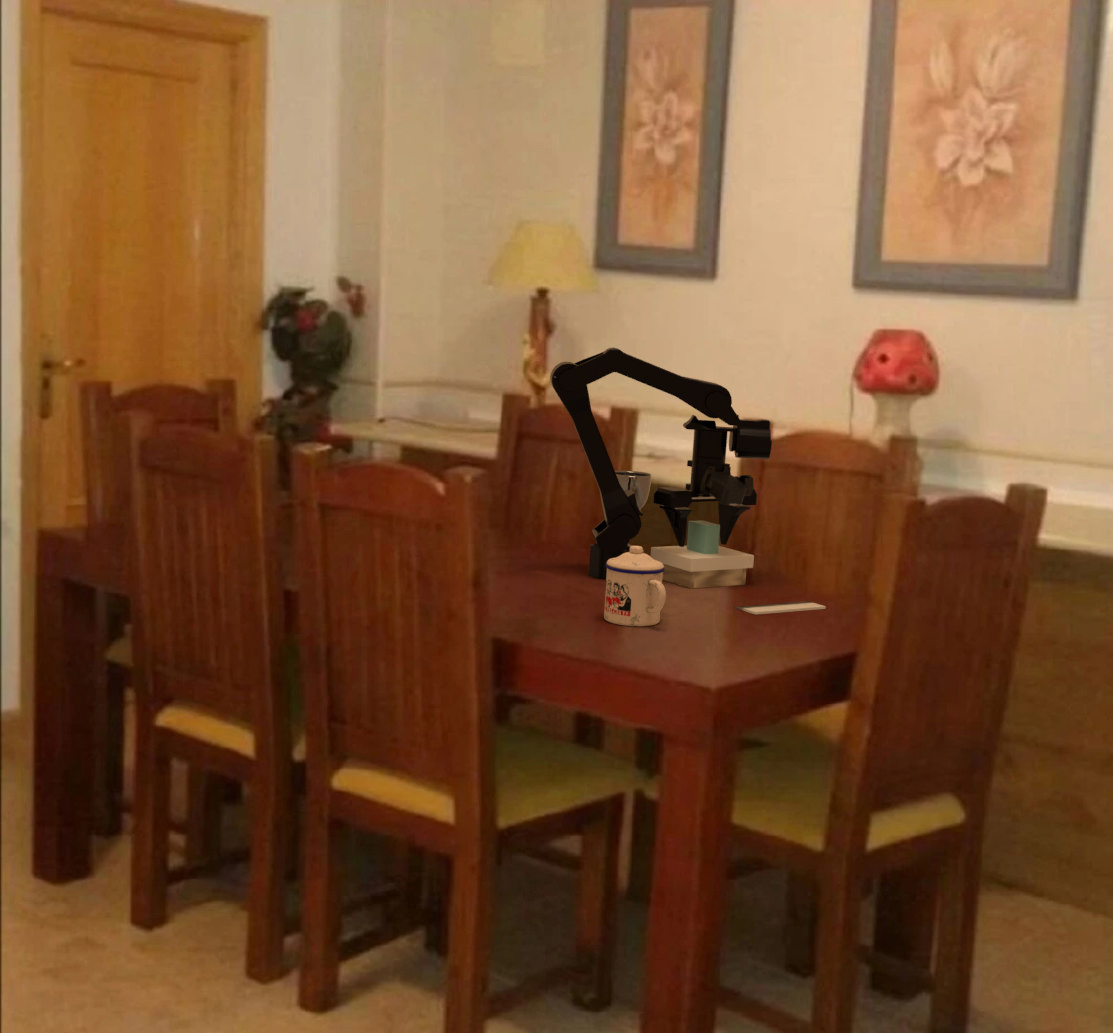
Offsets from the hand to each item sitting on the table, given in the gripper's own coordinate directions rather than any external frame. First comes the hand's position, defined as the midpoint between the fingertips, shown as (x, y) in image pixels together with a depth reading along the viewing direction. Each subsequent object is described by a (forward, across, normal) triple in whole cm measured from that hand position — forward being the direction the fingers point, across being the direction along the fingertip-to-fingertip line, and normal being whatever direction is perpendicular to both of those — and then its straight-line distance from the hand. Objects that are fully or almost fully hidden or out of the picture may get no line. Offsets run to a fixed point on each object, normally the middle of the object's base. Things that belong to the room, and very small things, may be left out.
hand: (702, 545), depth 284 cm
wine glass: (+7, +8, +34) cm, 36 cm away
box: (+7, 0, 0) cm, 7 cm away
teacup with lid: (+7, -29, -22) cm, 37 cm away
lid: (+3, 0, 0) cm, 3 cm away
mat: (+7, +1, -16) cm, 17 cm away
